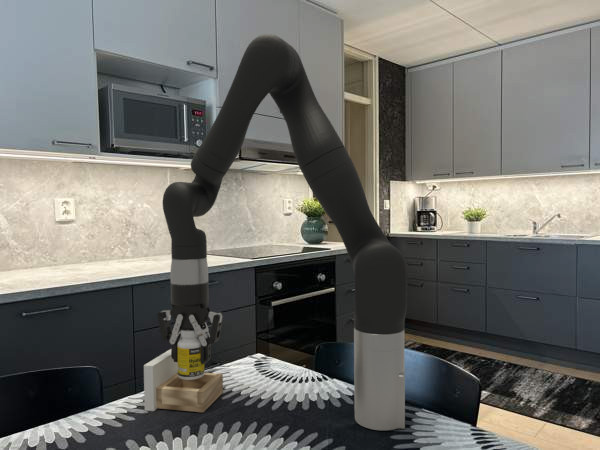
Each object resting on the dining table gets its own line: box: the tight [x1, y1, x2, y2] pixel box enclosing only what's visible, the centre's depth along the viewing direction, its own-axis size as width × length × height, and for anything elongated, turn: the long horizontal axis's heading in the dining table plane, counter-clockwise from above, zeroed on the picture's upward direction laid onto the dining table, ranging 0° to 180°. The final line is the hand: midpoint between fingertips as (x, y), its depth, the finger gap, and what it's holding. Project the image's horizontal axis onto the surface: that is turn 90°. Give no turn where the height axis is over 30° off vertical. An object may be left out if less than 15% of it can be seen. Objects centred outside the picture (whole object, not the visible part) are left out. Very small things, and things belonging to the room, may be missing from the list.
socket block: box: [156, 372, 224, 413], centre depth 95 cm, size 10×10×4 cm
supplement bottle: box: [177, 329, 206, 380], centre depth 94 cm, size 5×5×10 cm
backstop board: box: [143, 348, 178, 412], centre depth 96 cm, size 2×12×9 cm, turn 167°
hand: (191, 361), depth 94 cm, fingers closed on supplement bottle, 5 cm apart
